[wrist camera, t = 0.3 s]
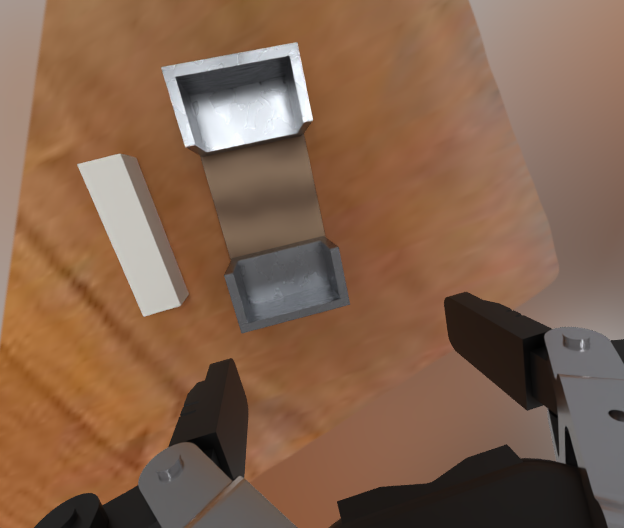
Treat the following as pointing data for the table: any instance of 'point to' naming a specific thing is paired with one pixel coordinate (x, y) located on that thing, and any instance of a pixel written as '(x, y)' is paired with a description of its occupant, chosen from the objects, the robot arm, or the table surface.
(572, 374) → the robot arm
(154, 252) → the block
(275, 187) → the plank
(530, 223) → the table surface
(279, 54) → the grey boxes
